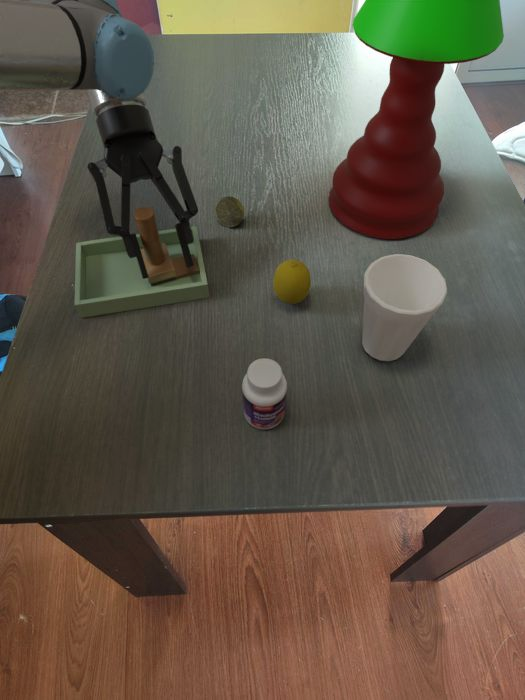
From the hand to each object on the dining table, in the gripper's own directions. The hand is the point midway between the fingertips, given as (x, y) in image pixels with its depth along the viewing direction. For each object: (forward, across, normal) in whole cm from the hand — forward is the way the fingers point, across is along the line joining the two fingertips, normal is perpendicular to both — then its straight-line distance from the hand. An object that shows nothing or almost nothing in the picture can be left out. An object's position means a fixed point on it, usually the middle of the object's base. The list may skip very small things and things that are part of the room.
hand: (168, 272), depth 70 cm
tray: (0, +4, -6) cm, 7 cm away
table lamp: (-2, -41, -6) cm, 42 cm away
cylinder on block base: (-1, +1, -5) cm, 5 cm away
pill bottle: (+21, -5, +16) cm, 27 cm away
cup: (+18, -25, +13) cm, 34 cm away
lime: (-6, -14, -10) cm, 18 cm away
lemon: (+9, -16, +4) cm, 19 cm away
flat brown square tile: (0, -3, -4) cm, 5 cm away
